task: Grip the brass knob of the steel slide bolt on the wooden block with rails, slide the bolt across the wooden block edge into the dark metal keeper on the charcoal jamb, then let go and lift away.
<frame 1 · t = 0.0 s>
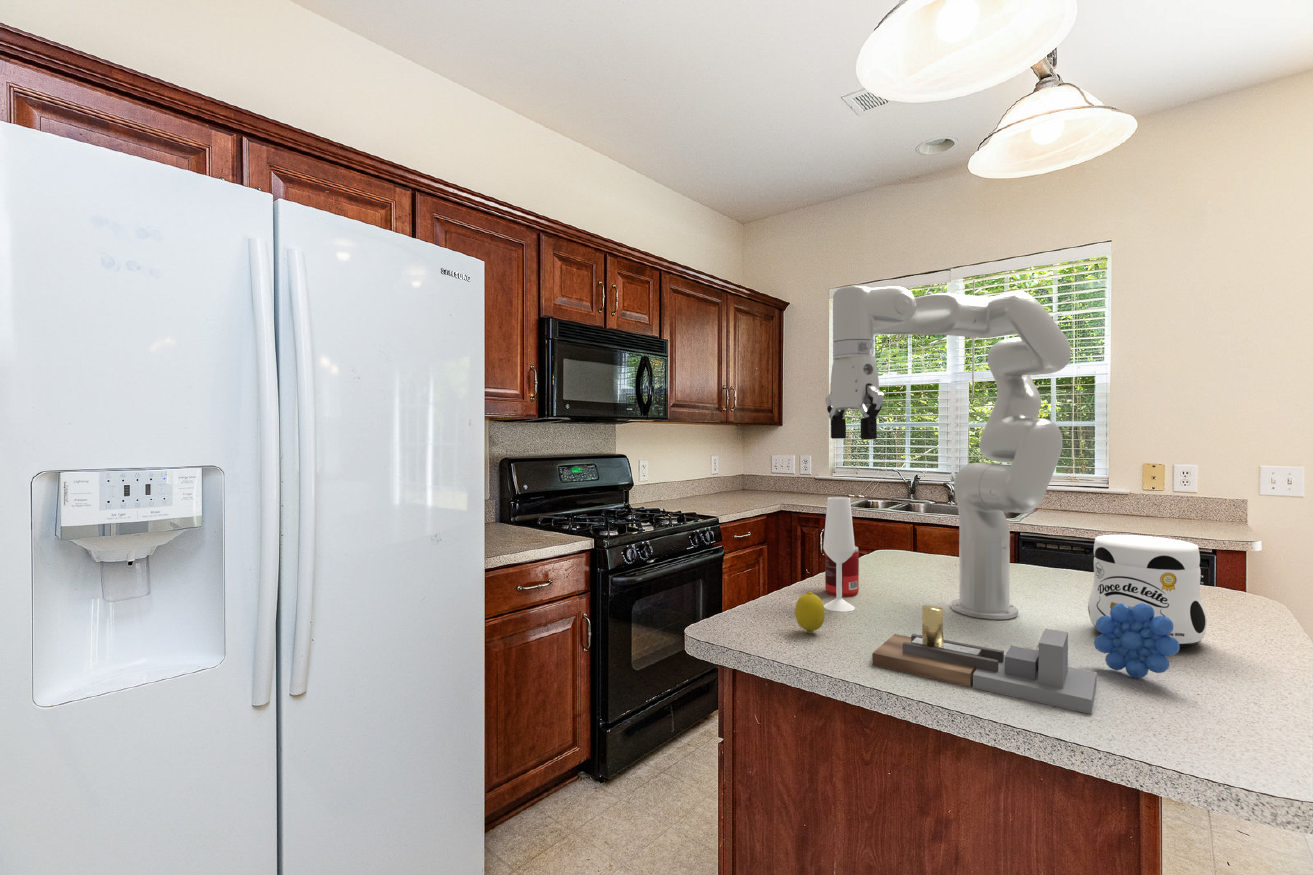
hand: (852, 438, 123), 37 cm above the countertop, tool pointing down, fingers open, 9 cm apart
champagne flute: (839, 608, 137), on the countertop
jamb: (979, 674, 100), on the countertop
canned food: (841, 593, 149), on the countertop
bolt: (945, 632, 103), point 6 cm above the countertop, slide at 0.0 cm
wooden block with rails: (979, 674, 100), on the countertop
doce de leite tub: (1144, 639, 116), on the countertop
lemon: (809, 634, 120), on the countertop
blue flower: (1137, 677, 99), on the countertop
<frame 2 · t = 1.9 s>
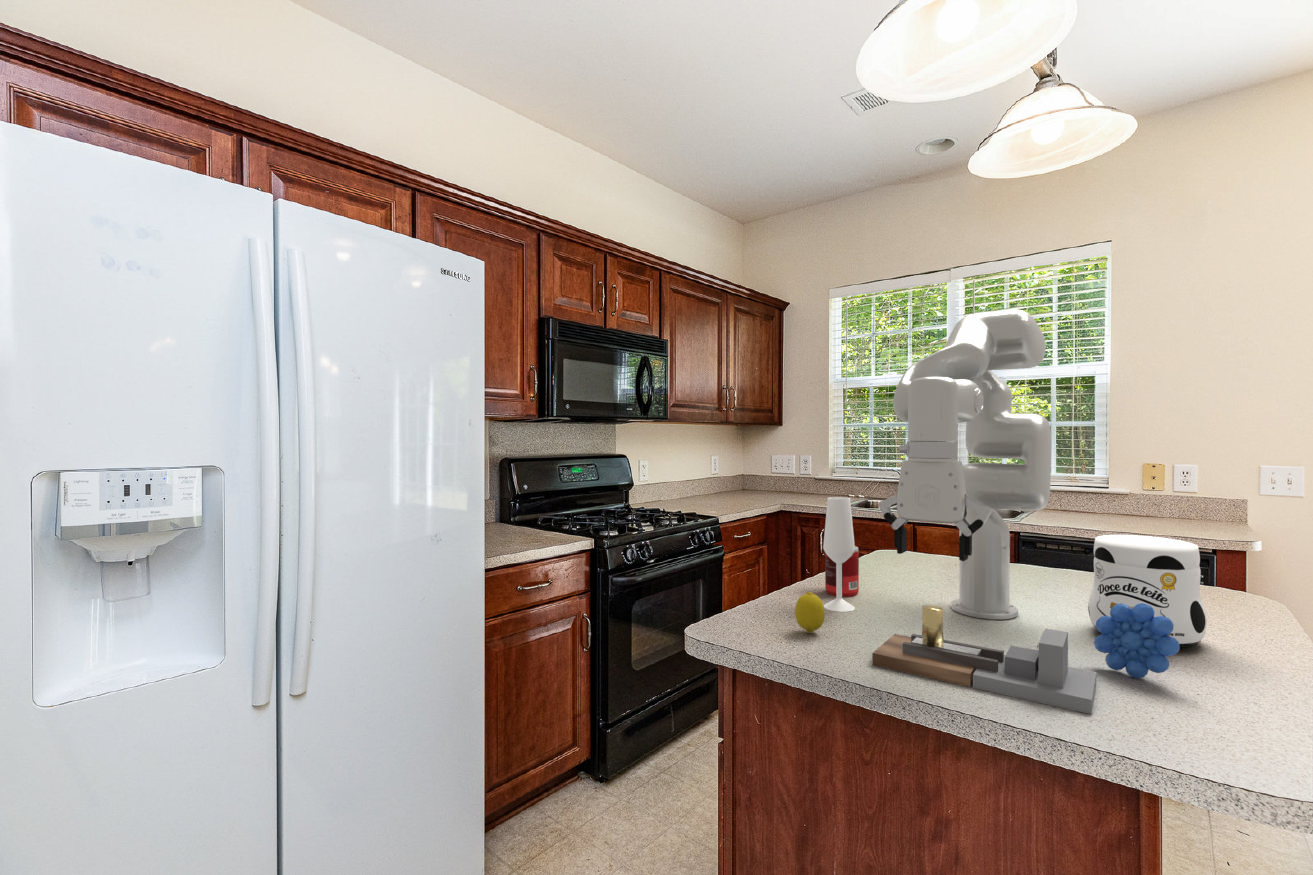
hand: (931, 556, 103), 18 cm above the countertop, tool pointing down, fingers open, 9 cm apart
nothing on the countertop moved.
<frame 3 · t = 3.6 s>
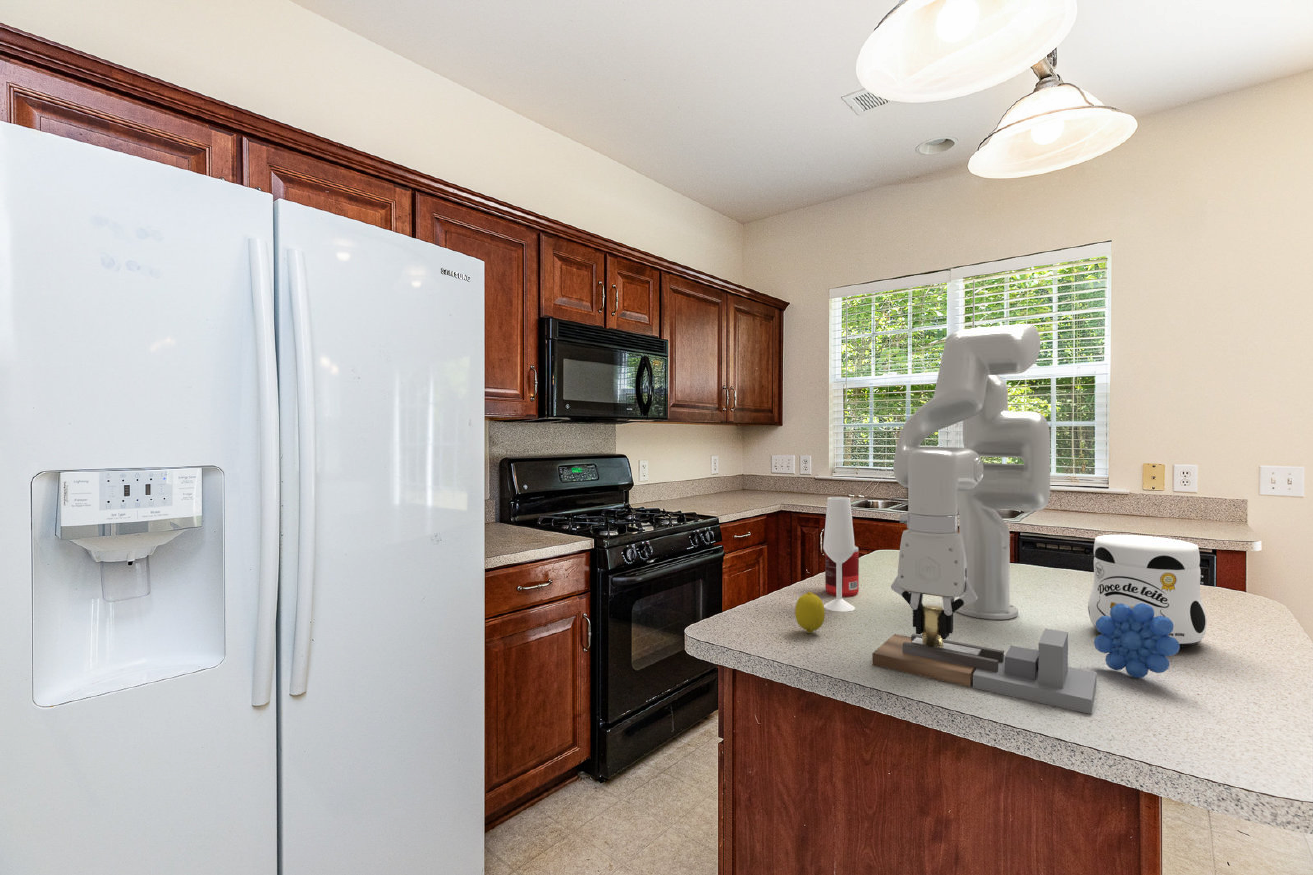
hand: (932, 633, 104), 5 cm above the countertop, tool pointing down, fingers closed on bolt, 3 cm apart
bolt: (945, 632, 103), point 6 cm above the countertop, slide at 0.0 cm, touching gripper
everything else where it was.
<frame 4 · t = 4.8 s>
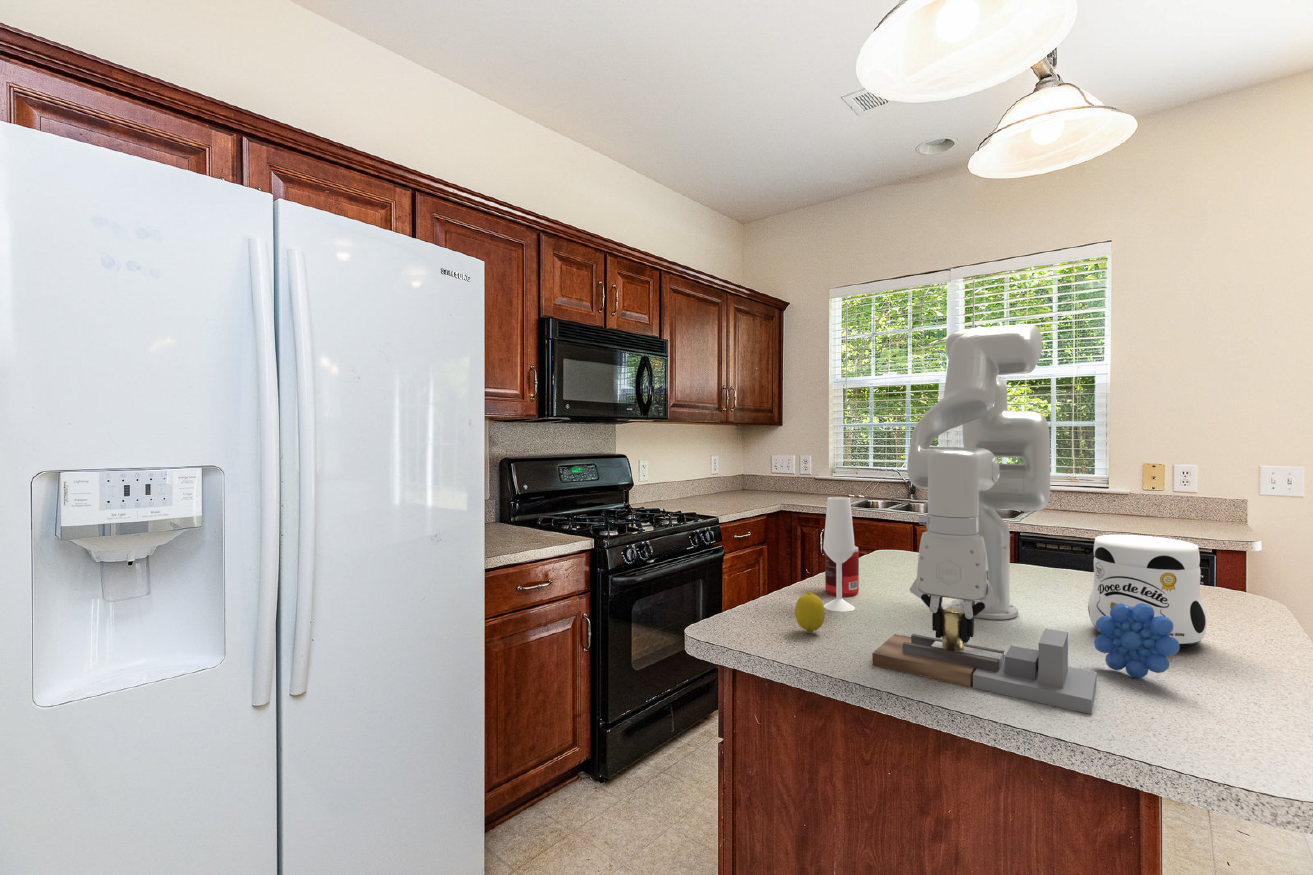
hand: (952, 637, 102), 5 cm above the countertop, tool pointing down, fingers closed on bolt, 3 cm apart
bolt: (966, 636, 101), point 6 cm above the countertop, slide at 3.1 cm, touching gripper
everything else where it was.
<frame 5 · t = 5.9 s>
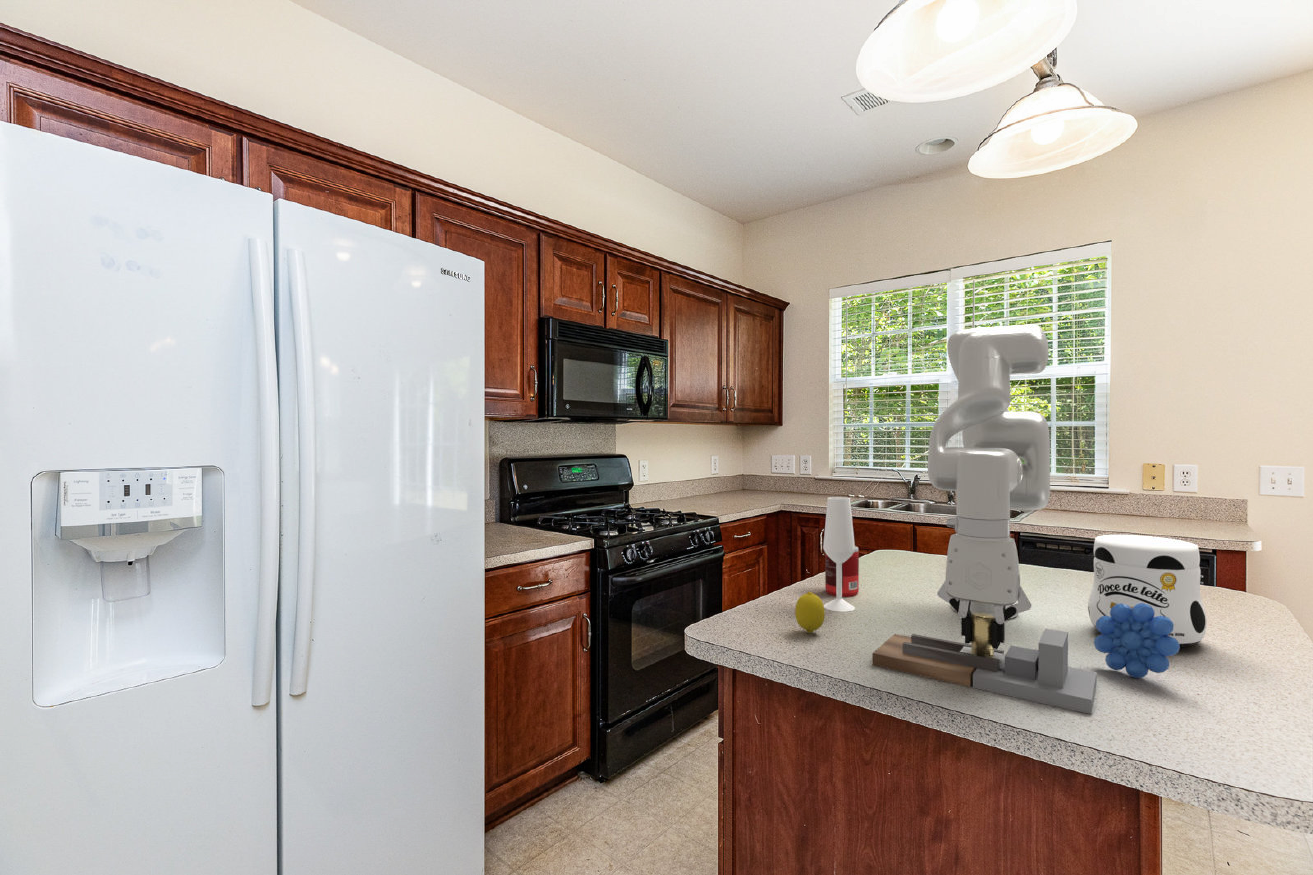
hand: (982, 642, 99), 5 cm above the countertop, tool pointing down, fingers closed on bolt, 3 cm apart
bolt: (996, 641, 98), point 6 cm above the countertop, slide at 7.4 cm, touching gripper
everything else where it was.
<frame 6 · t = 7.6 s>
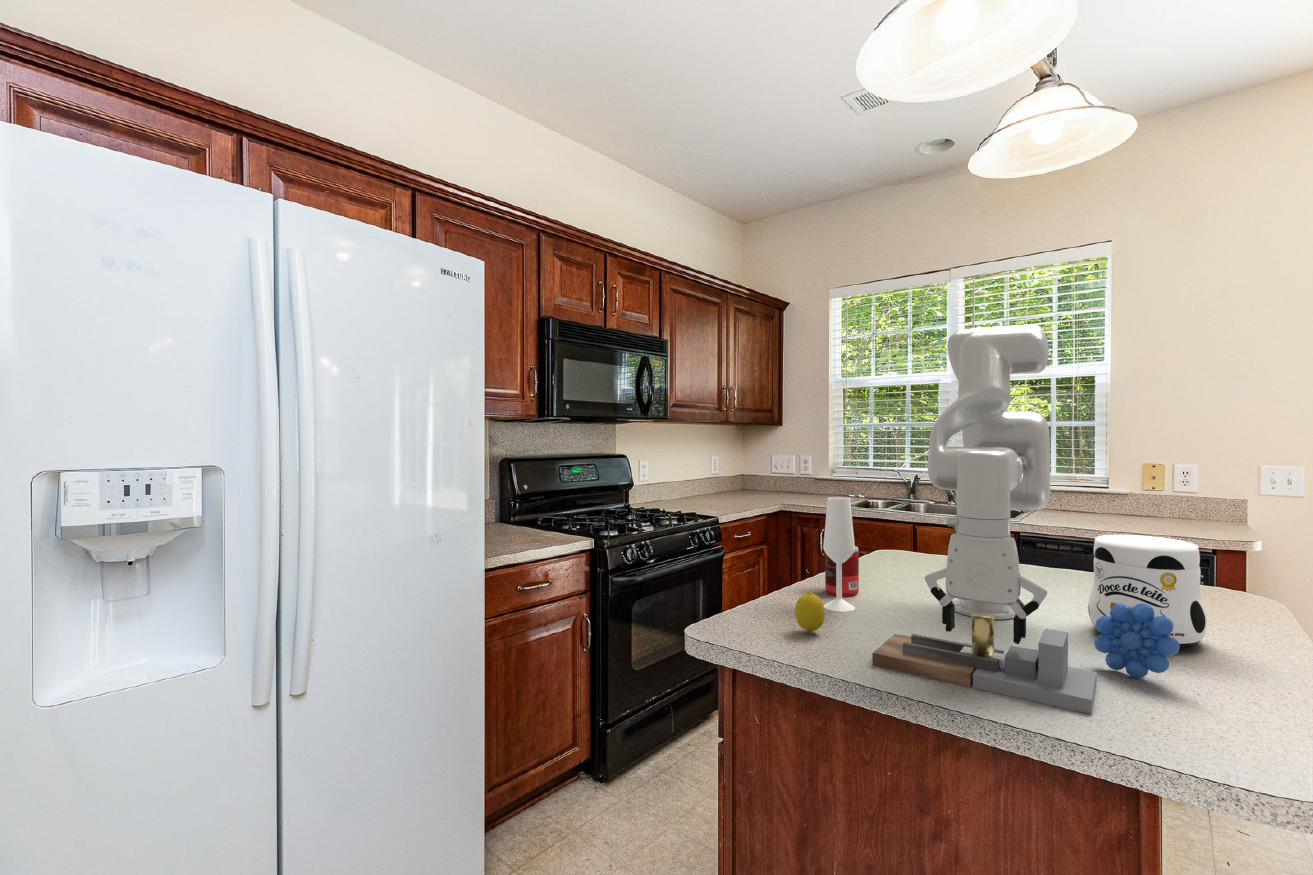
hand: (982, 635, 99), 6 cm above the countertop, tool pointing down, fingers open, 9 cm apart
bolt: (996, 641, 98), point 6 cm above the countertop, slide at 7.5 cm
everything else where it was.
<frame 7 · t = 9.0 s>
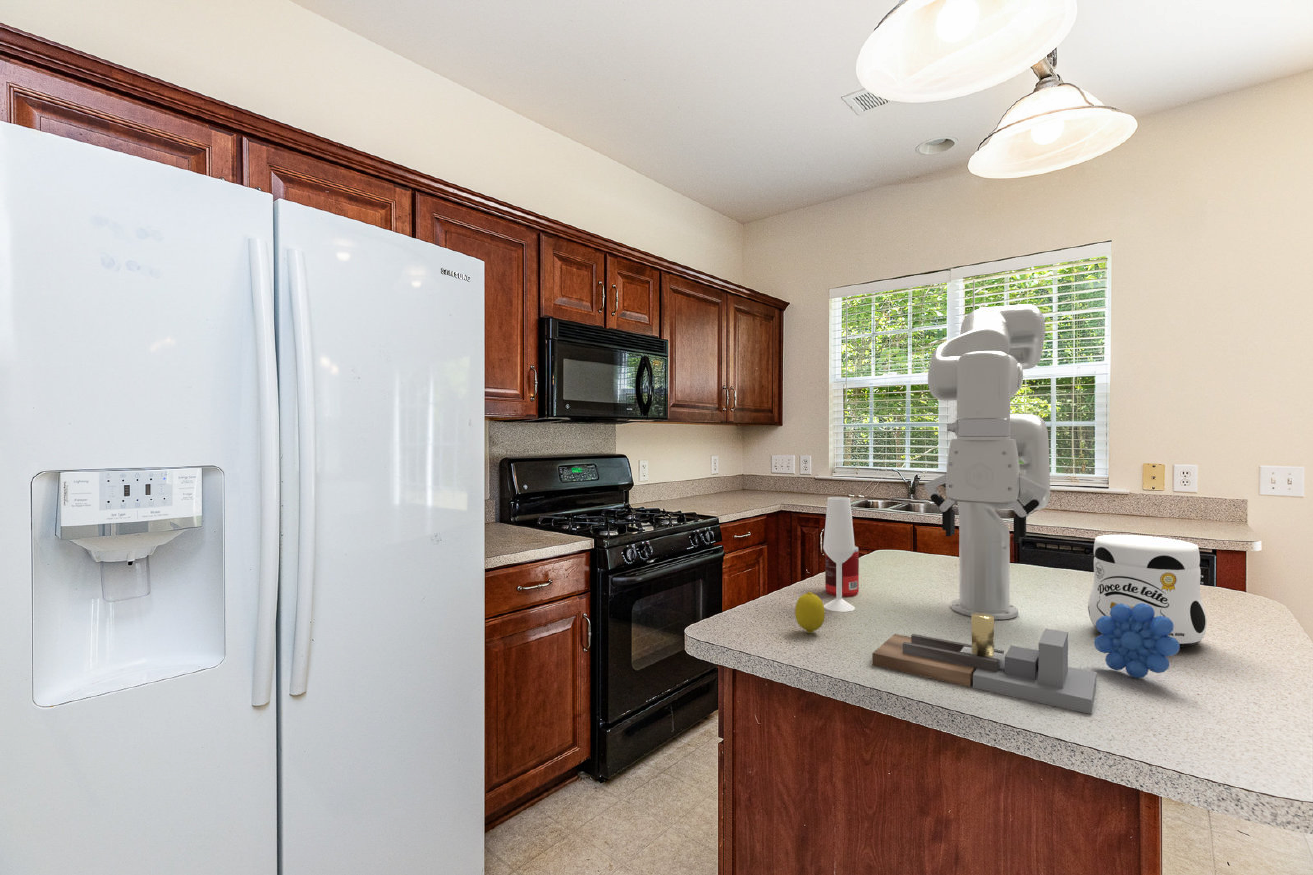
hand: (983, 538, 99), 22 cm above the countertop, tool pointing down, fingers open, 9 cm apart
nothing on the countertop moved.
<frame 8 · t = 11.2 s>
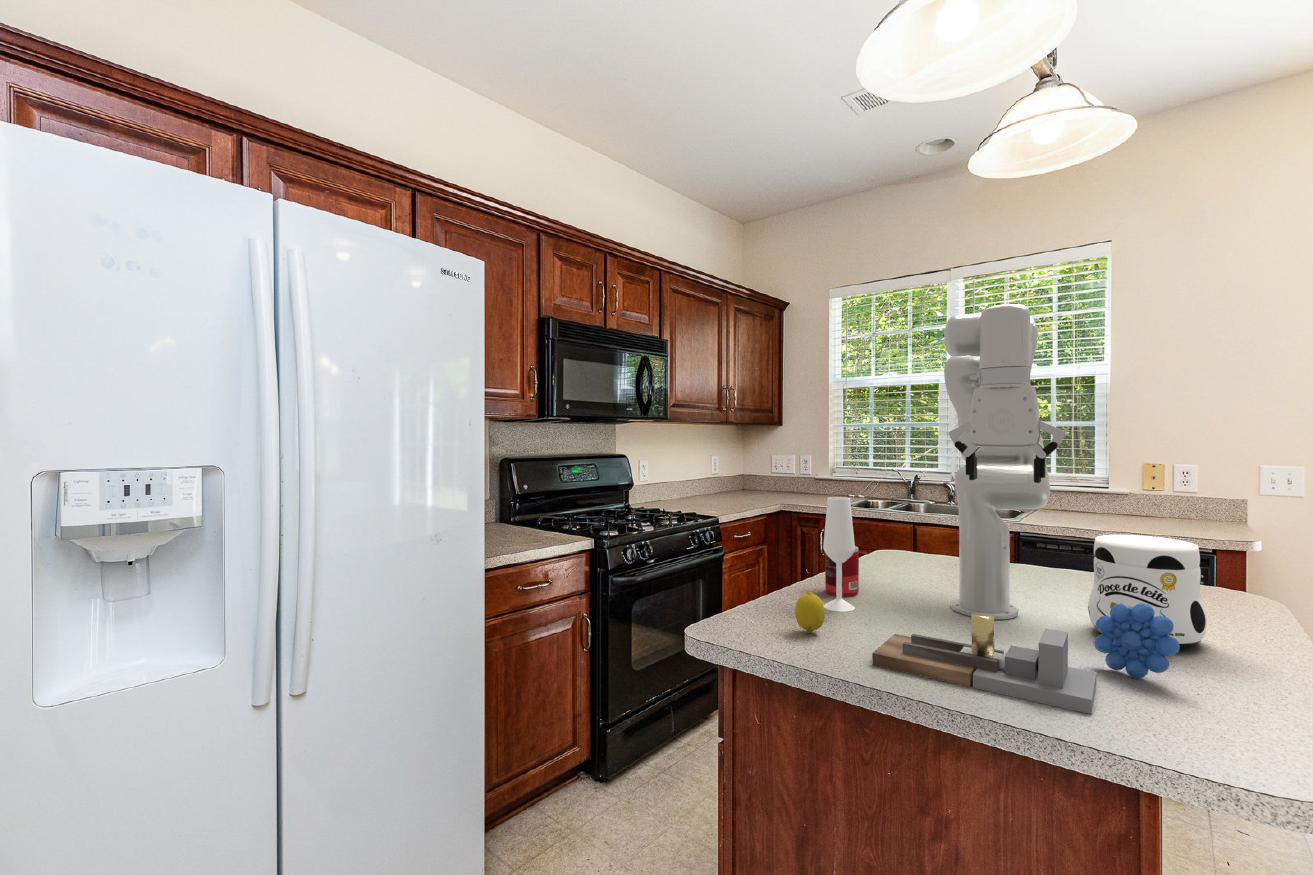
hand: (1004, 480, 106), 30 cm above the countertop, tool pointing down, fingers open, 9 cm apart
nothing on the countertop moved.
at the end: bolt slide at 7.5 cm; the gripper is holding nothing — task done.
